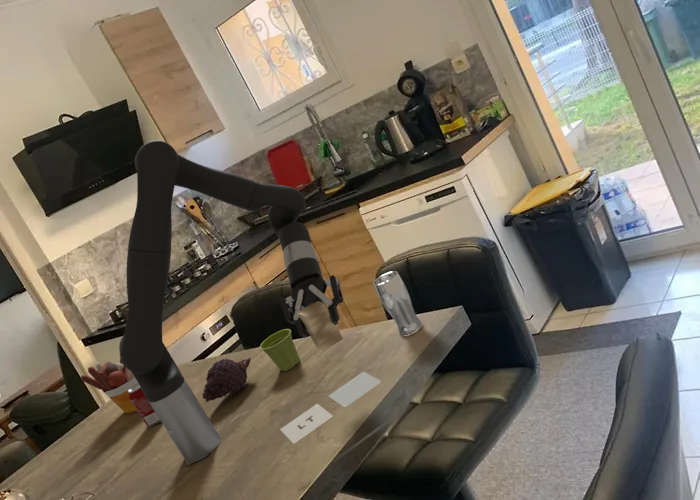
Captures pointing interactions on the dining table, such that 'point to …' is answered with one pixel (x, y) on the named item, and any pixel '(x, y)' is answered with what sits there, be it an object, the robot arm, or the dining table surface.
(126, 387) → the bucket of meat
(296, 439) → the tile
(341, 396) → the rest pad
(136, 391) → the soda can
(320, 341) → the beech block
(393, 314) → the beer glass
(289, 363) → the plant pot
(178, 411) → the robot arm
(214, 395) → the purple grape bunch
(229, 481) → the dining table surface
